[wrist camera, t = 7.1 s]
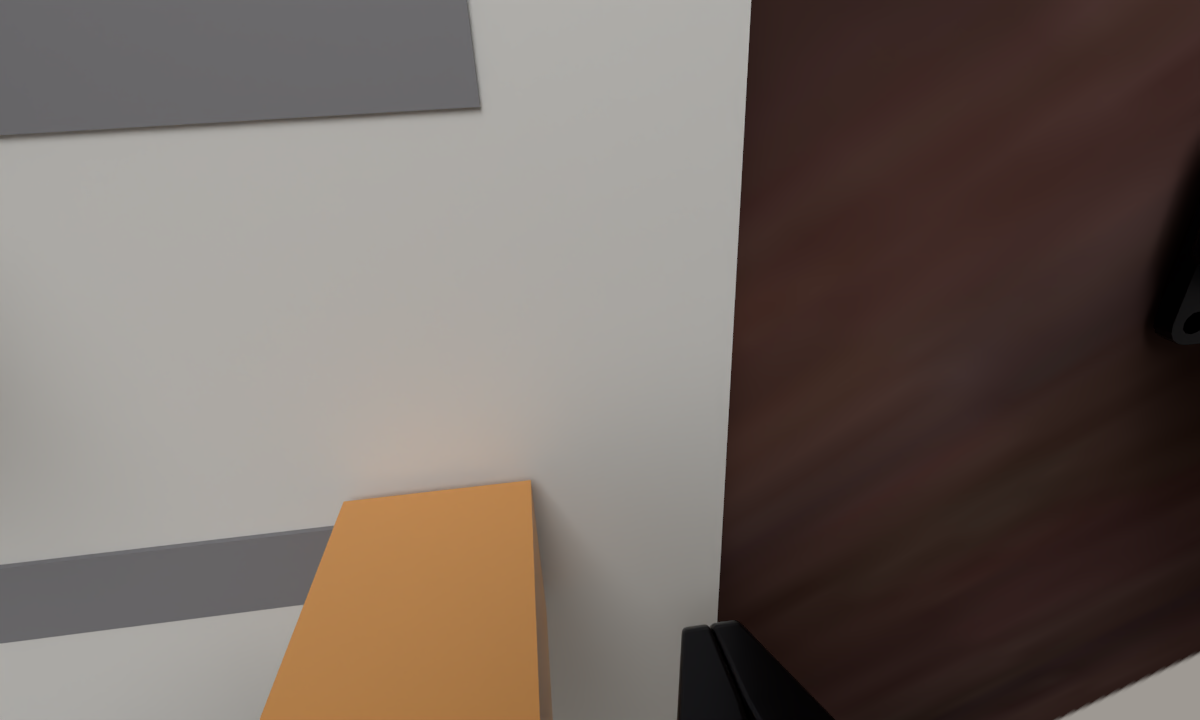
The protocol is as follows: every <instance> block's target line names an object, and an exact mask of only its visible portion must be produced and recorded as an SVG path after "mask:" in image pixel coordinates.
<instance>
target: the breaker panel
mask: <svg viewBox="0 0 1200 720" xmlns="http://www.w3.org/2000/svg"><path fill="white" fill-rule="evenodd" d="M750 13H751V0H0V720H260V717H261V714H262V712H263V709H264V707H265V704H266V701H267V699H268V696H269V694H270V691H271V688H272V686H273V683H274V681H275V678H276V675H277V673H278V670H279V668H280V665H281V663H282V660H283V657H284V655H285V652H286V650H287V647H288V644H289V642H290V639H291V637H292V634H293V631H294V629H295V626H296V624H297V621H298V618H299V616H300V613H301V611H302V608H303V605H304V603H305V600H306V598H307V595H308V592H309V590H310V587H311V585H312V582H313V580H314V577H315V574H316V572H317V569H318V567H319V564H320V561H321V559H322V556H323V554H324V551H325V548H326V546H327V543H328V541H329V538H330V535H331V533H332V530H333V528H334V525H335V522H336V520H337V517H338V515H339V512H340V509H341V507H342V504H343V502H344V501H352V500H361V499H370V498H379V497H387V496H396V495H405V494H414V493H422V492H431V491H440V490H449V489H457V488H466V487H475V486H483V485H492V484H501V483H510V482H518V481H527V480H531V486H532V494H533V503H534V511H535V519H536V528H537V536H538V544H539V553H540V561H541V569H542V577H543V586H544V594H545V602H546V612H547V629H548V646H549V664H550V681H551V698H552V716H553V720H677V708H678V690H679V671H680V653H681V635H682V630H683V628H684V627H689V626H696V625H703V624H705V625H708V626H709V627H710V626H711V624H713V623H717V616H718V597H719V579H720V561H721V543H722V524H723V506H724V488H725V470H726V451H727V433H728V415H729V397H730V378H731V360H732V342H733V324H734V305H735V287H736V269H737V251H738V232H739V214H740V196H741V178H742V159H743V141H744V123H745V105H746V86H747V68H748V50H749V32H750Z"/></svg>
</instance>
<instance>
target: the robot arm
mask: <svg viewBox="0 0 1200 720" xmlns="http://www.w3.org/2000/svg"><path fill="white" fill-rule="evenodd" d="M1153 326H1154V330H1155V333H1157V334H1158V335H1159V336H1161V337H1163V338H1165V339H1168V340H1170V341H1172V342H1175V343H1177V344H1182V345H1190V344H1199V343H1200V202H1199V205H1198V207H1197V210H1196V213H1195V215H1194V218H1193V220H1192V223H1191V225H1190V228H1189V231H1188V233H1187V236H1186V238H1185V241H1184V244H1183V246H1182V249H1181V251H1180V254H1179V257H1178V259H1177V262H1176V264H1175V267H1174V270H1173V272H1172V275H1171V277H1170V280H1169V282H1168V285H1167V288H1166V290H1165V293H1164V295H1163V298H1162V301H1161V303H1160V306H1159V308H1158V311H1157V314H1156V316H1155V320H1154V325H1153ZM677 720H835V719H834V718H833V717H832V716H831V715H830V714H829V713H828V712H827V711H826V710H825V709H824V708H823V707H822V706H821V705H820V704H819V703H818V702H817V701H816V700H815V699H814V698H813V697H812V696H811V695H810V694H809V693H808V692H807V691H806V689H805V688H804V687H803V686H802V685H801V684H800V683H799V682H798V681H797V680H796V679H795V678H794V677H793V676H792V675H791V674H790V673H789V672H788V671H787V670H786V669H785V668H784V667H783V666H782V665H781V664H780V663H779V662H778V661H777V660H776V659H775V658H774V657H773V656H772V655H771V654H770V653H769V652H768V651H767V650H766V648H765V647H764V646H763V645H762V644H761V643H760V642H759V641H758V640H757V639H756V638H755V637H754V636H753V635H752V634H751V633H750V632H749V631H748V630H747V629H746V628H745V627H744V626H743V625H742V624H741V623H740V622H738V621H736V620H730V621H724V622H717V623H713V624H711V626H710V627H709V626H708V625H705V624H703V625H696V626H689V627H684V628H683V630H682V635H681V653H680V671H679V690H678V708H677Z"/></svg>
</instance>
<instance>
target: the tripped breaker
mask: <svg viewBox="0 0 1200 720" xmlns="http://www.w3.org/2000/svg"><path fill="white" fill-rule="evenodd" d="M260 720H553V716H552V698H551V681H550V664H549V646H548V629H547V612H546V602H545V594H544V586H543V577H542V569H541V561H540V553H539V544H538V536H537V528H536V519H535V511H534V503H533V494H532V486H531V480H527V481H518V482H510V483H501V484H492V485H483V486H475V487H466V488H457V489H449V490H440V491H431V492H422V493H414V494H405V495H396V496H387V497H379V498H370V499H361V500H352V501H344V502H343V504H342V507H341V509H340V512H339V515H338V517H337V520H336V522H335V525H334V528H333V530H332V533H331V535H330V538H329V541H328V543H327V546H326V548H325V551H324V554H323V556H322V559H321V561H320V564H319V567H318V569H317V572H316V574H315V577H314V580H313V582H312V585H311V587H310V590H309V592H308V595H307V598H306V600H305V603H304V605H303V608H302V611H301V613H300V616H299V618H298V621H297V624H296V626H295V629H294V631H293V634H292V637H291V639H290V642H289V644H288V647H287V650H286V652H285V655H284V657H283V660H282V663H281V665H280V668H279V670H278V673H277V675H276V678H275V681H274V683H273V686H272V688H271V691H270V694H269V696H268V699H267V701H266V704H265V707H264V709H263V712H262V714H261V717H260Z"/></svg>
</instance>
